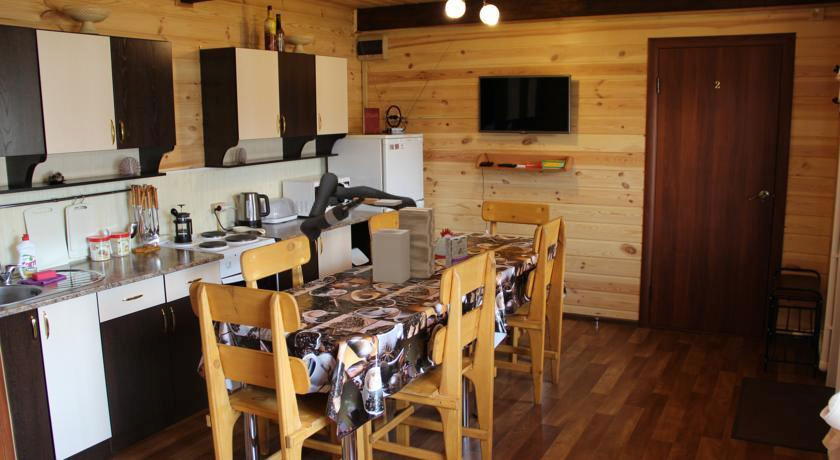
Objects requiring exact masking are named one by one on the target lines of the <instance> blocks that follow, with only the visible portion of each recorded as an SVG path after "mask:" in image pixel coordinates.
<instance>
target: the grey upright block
mask: <svg viewBox="0 0 840 460" xmlns="http://www.w3.org/2000/svg"><path fill="white" fill-rule="evenodd" d="M371 247H372V250H371V251H372V252H371V253H372V282H374V283H387V284H397V285H402V284H403V283H405V282H406V281H408V280H410V279H411V277H410V230H399V228H398V229H397V228H396V229H395V228H380V229H378V230H376V231H372V232H371Z"/></svg>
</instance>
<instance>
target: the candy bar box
mask: <svg viewBox="0 0 840 460" xmlns="http://www.w3.org/2000/svg"><path fill="white" fill-rule="evenodd" d="M468 239H469V236H466V235H457V236H452V237H451V238H445V248H446V259H445V269H446V268H448V267H450V266H453V265H455V264H457V263H459V262H462V261H464V260H467V259H468V260H469V241H468Z"/></svg>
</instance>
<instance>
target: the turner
mask: <svg viewBox="0 0 840 460" xmlns="http://www.w3.org/2000/svg"><path fill="white" fill-rule="evenodd" d="M357 199H358V198H353V201H354V200H357ZM361 203H368V204H374V205H388V206H395V205H398V204H401V203H402V200H386V199H381V200H379V199H370V198H365V201H363V202H361Z"/></svg>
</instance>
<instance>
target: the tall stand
mask: <svg viewBox="0 0 840 460" xmlns="http://www.w3.org/2000/svg"><path fill="white" fill-rule="evenodd" d="M398 229H399V230H410V278H418V279H429V278H430V277H431V276H433V275H434V274H436V273H435V272H436V271H435V270H436V264H435V263H436V261H435V260H436V257H435V246H436V242H435V208H434V207H421V206H419V207H418V206H417V207H405V208H403V209H400V210H399V211H398Z"/></svg>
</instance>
